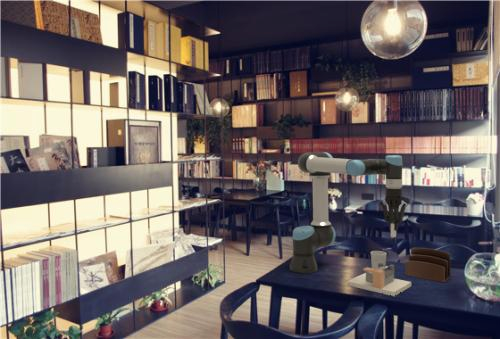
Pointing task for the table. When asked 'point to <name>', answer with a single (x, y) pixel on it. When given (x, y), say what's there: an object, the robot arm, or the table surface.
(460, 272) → the table surface
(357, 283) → the board
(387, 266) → the translucent flat bar
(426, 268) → the letter holder
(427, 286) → the table surface
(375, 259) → the cup
